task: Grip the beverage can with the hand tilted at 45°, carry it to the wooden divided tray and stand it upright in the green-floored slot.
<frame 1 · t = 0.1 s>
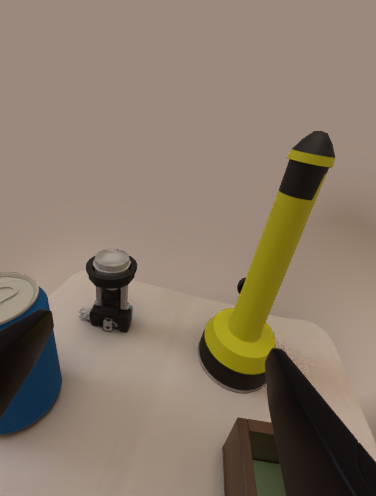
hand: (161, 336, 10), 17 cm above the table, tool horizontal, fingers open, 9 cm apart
beverage can: (22, 398, 22), on the table
push button: (106, 322, 30), on the table
flashlight: (233, 356, 29), on the table
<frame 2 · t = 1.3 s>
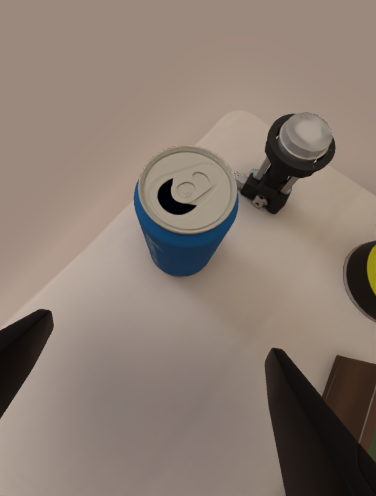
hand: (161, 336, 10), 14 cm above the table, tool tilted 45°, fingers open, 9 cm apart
beverage can: (180, 247, 25), on the table
push button: (255, 195, 27), on the table
wooden divided tray: (351, 480, 20), on the table
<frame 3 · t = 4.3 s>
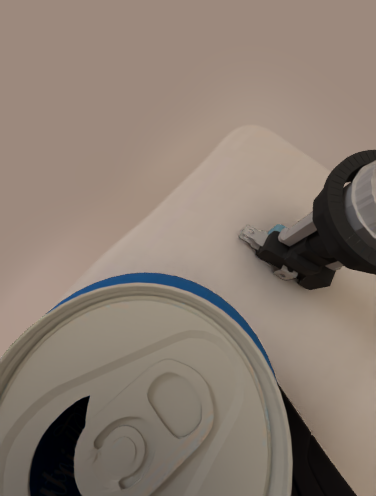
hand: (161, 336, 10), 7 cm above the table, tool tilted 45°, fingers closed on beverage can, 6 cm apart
beverage can: (161, 349, 16), on the table, touching gripper
push button: (277, 256, 18), on the table
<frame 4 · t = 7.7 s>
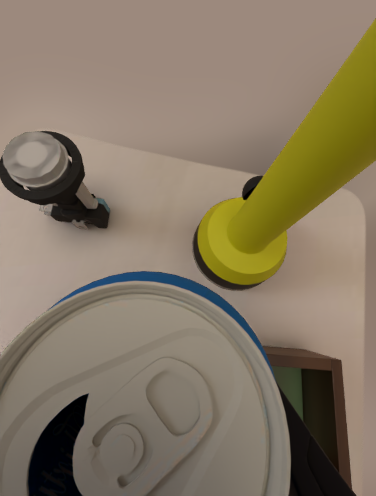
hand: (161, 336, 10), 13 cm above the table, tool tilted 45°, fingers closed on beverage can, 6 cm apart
beverage can: (161, 349, 16), point 7 cm above the table, touching gripper
push button: (81, 216, 25), on the table
flashlight: (234, 248, 25), on the table
wooden divided tray: (257, 455, 20), on the table
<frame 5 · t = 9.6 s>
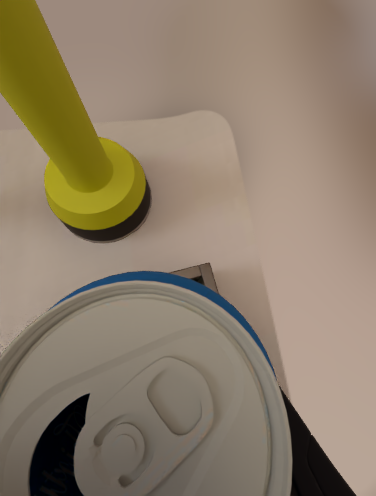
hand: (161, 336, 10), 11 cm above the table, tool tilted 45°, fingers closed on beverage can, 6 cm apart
beverage can: (161, 348, 16), point 5 cm above the table, touching gripper
flashlight: (106, 200, 23), on the table
wooden divided tray: (177, 390, 19), on the table
when the fingers open (7 cm above the table, at t = 11.2 s): beverage can stays where it is, resting on wooden divided tray.
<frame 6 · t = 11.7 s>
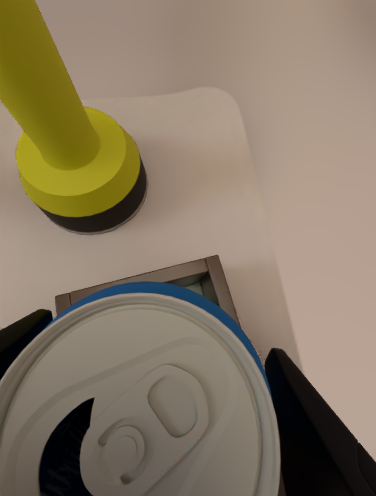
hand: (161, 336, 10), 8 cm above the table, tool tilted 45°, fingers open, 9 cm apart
beverage can: (161, 351, 16), point 1 cm above the table, touching wooden divided tray
flashlight: (94, 185, 20), on the table
wooden divided tray: (177, 413, 16), on the table
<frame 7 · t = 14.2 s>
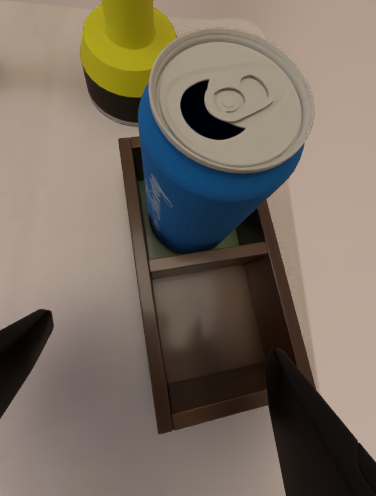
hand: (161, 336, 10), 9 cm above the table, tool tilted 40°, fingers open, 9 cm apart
beverage can: (188, 219, 20), point 1 cm above the table, touching wooden divided tray
flashlight: (136, 87, 23), on the table
wooden divided tray: (197, 267, 19), on the table
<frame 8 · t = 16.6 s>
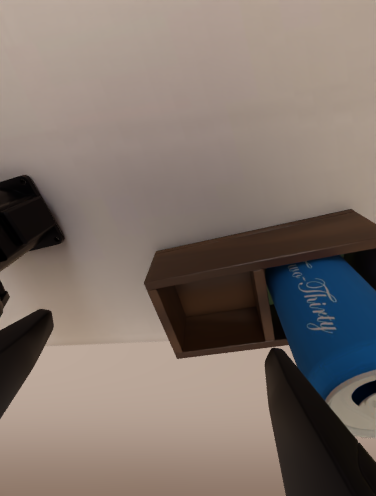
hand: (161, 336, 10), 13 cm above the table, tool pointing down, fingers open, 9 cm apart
beverage can: (298, 267, 22), point 1 cm above the table, touching wooden divided tray
wooden divided tray: (253, 272, 23), on the table
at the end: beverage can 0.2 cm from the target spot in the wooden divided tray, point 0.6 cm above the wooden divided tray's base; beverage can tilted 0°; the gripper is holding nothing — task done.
